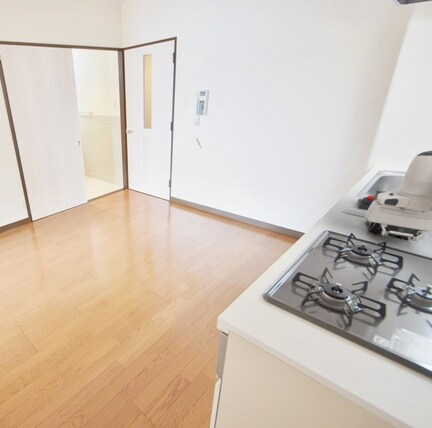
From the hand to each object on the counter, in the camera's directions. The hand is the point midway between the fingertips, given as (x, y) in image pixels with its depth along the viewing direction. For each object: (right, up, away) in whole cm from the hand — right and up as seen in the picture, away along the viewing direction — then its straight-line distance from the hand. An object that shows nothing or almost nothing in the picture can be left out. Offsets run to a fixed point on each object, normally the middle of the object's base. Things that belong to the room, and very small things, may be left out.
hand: (398, 237), depth 96 cm
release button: (+21, +15, +33) cm, 42 cm away
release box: (+22, +11, +34) cm, 42 cm away
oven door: (+5, -1, +8) cm, 9 cm away
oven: (+10, +2, +15) cm, 18 cm away
